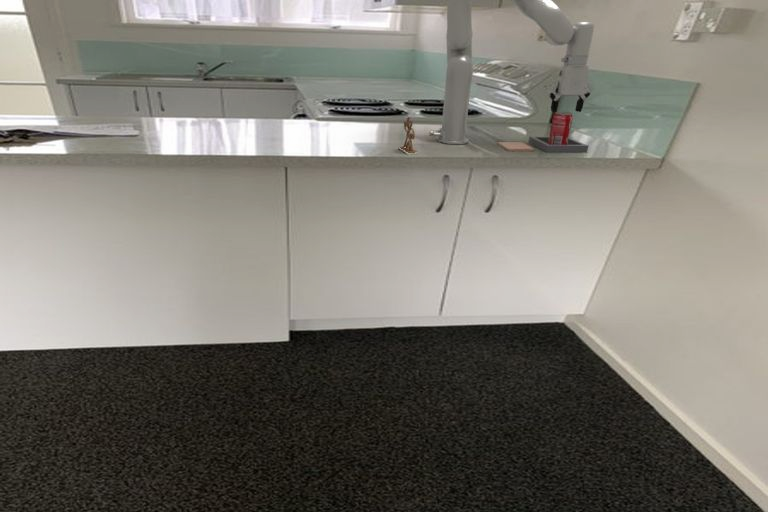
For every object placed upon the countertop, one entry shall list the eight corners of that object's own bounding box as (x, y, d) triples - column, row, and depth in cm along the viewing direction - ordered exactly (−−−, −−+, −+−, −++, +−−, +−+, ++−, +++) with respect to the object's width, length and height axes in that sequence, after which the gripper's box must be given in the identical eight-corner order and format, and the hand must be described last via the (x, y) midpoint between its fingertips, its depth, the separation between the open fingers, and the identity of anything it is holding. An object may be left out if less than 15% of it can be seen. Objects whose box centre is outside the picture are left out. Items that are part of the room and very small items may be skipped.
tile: (507, 150, 156) (508, 148, 156) (497, 144, 166) (497, 142, 165) (533, 150, 157) (533, 148, 157) (521, 144, 167) (521, 142, 167)
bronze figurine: (418, 154, 148) (420, 119, 142) (408, 155, 147) (410, 119, 141) (407, 148, 155) (409, 115, 150) (398, 149, 154) (399, 115, 148)
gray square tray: (546, 152, 156) (547, 145, 154) (528, 142, 170) (529, 136, 169) (586, 152, 157) (588, 145, 156) (565, 142, 172) (567, 136, 170)
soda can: (567, 150, 160) (576, 114, 154) (548, 148, 161) (555, 113, 155) (564, 146, 166) (572, 111, 160) (545, 144, 167) (552, 110, 161)
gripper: (557, 62, 145) (548, 113, 153) (604, 61, 147) (593, 112, 155) (547, 61, 152) (539, 110, 160) (592, 60, 154) (582, 109, 161)
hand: (565, 111), depth 157 cm, fingers open, 9 cm apart
